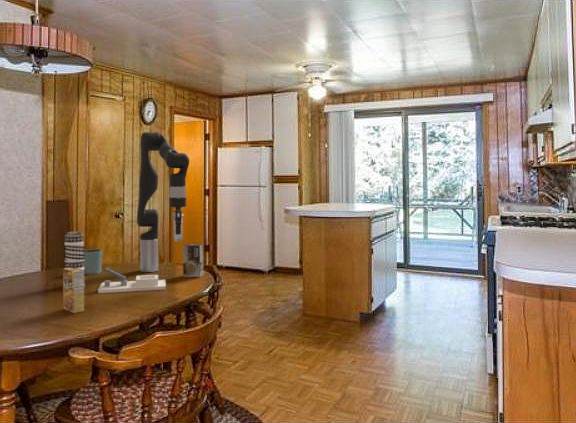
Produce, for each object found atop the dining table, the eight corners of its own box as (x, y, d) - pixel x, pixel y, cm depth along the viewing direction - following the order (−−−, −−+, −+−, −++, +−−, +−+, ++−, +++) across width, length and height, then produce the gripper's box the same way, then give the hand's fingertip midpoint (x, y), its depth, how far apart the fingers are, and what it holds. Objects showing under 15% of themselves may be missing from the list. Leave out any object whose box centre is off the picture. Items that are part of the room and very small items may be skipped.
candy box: (62, 309, 171) (61, 268, 170) (74, 307, 174) (73, 267, 174) (73, 313, 166) (73, 271, 165) (85, 311, 169) (84, 269, 168)
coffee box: (203, 274, 238) (203, 244, 237) (200, 277, 232) (200, 245, 231) (186, 274, 239) (186, 243, 238) (182, 277, 233) (182, 245, 232)
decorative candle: (59, 287, 208) (57, 232, 206) (75, 283, 216) (74, 230, 215) (74, 289, 205) (73, 233, 203) (90, 284, 213) (89, 231, 212)
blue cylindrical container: (106, 272, 244) (106, 250, 243) (89, 275, 235) (88, 252, 234) (94, 270, 249) (94, 248, 248) (77, 273, 241) (77, 250, 240)
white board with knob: (102, 285, 211) (102, 276, 211) (165, 282, 219) (165, 273, 218) (98, 293, 197) (97, 282, 197) (165, 289, 204) (165, 279, 204)
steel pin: (172, 240, 214) (172, 214, 213) (183, 239, 215) (183, 214, 215) (172, 241, 209) (172, 215, 208) (184, 241, 210) (184, 215, 210)
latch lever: (104, 269, 206) (106, 267, 206) (124, 279, 208) (126, 276, 208) (103, 271, 202) (105, 268, 202) (124, 281, 205) (125, 278, 205)
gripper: (169, 196, 217) (169, 232, 218) (169, 197, 203) (170, 235, 204) (185, 196, 219) (185, 232, 220) (187, 197, 205) (187, 235, 206)
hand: (178, 233), depth 212 cm, fingers closed on steel pin, 4 cm apart
